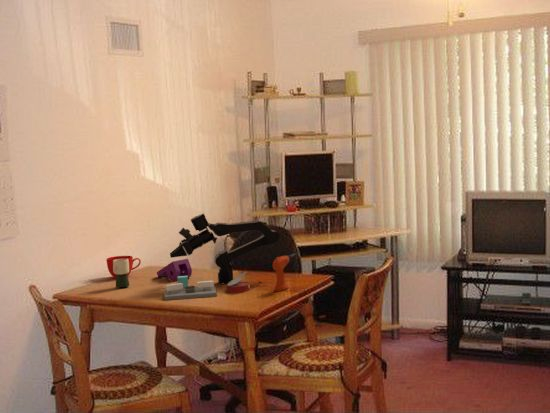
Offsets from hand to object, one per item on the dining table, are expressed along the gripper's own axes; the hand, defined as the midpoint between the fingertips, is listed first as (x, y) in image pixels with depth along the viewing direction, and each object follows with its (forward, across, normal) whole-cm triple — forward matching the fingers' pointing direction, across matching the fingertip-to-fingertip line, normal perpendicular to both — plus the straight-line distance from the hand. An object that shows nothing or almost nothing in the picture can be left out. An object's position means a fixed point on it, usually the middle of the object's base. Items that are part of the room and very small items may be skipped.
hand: (170, 255), depth 329 cm
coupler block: (+2, +2, +16) cm, 16 cm away
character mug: (+27, -10, +4) cm, 29 cm away
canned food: (-19, +19, +26) cm, 38 cm away
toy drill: (-38, +21, +35) cm, 56 cm away
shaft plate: (0, +19, +17) cm, 26 cm away
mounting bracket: (+5, -24, +13) cm, 28 cm away
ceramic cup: (+26, -38, +2) cm, 46 cm away
